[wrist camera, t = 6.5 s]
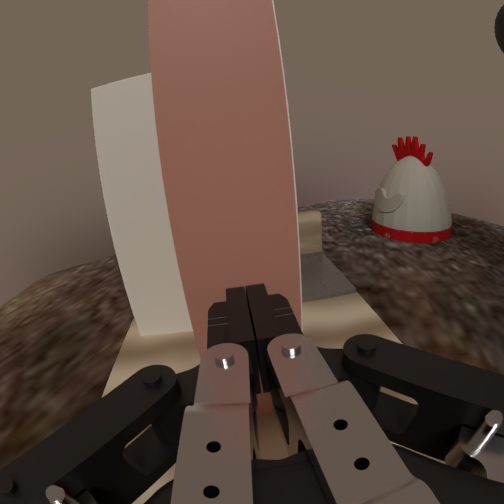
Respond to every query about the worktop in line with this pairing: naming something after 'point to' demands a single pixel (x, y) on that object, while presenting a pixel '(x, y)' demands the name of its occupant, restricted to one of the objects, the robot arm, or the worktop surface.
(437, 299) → the worktop surface
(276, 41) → the terracotta book
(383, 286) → the worktop surface
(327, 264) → the bookend
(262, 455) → the rack
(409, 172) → the kitchen timer
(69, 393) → the worktop surface
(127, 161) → the cream book
